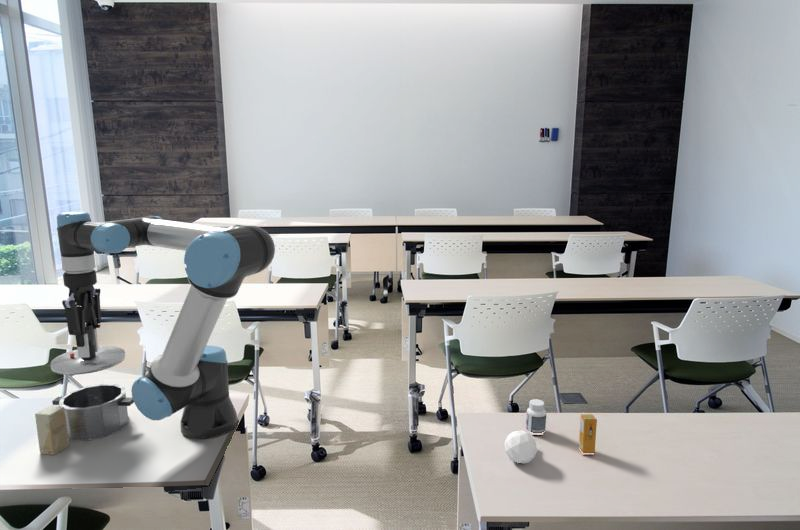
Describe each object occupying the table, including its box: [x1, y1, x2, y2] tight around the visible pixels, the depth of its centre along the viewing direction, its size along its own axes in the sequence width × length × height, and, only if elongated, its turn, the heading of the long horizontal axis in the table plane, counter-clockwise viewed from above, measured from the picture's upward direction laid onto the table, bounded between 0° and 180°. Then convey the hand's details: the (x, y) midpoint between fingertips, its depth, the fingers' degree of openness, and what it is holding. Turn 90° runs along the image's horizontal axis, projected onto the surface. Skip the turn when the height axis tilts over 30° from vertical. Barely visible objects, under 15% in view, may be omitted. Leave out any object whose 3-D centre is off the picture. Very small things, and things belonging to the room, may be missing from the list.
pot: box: [51, 383, 135, 441], centre depth 148 cm, size 22×16×9 cm
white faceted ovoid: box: [503, 429, 538, 464], centre depth 133 cm, size 8×8×12 cm
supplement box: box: [578, 413, 598, 454], centre depth 135 cm, size 3×3×10 cm
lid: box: [50, 323, 126, 376], centre depth 143 cm, size 18×18×10 cm
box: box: [34, 405, 70, 456], centre depth 136 cm, size 5×4×11 cm
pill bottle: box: [525, 398, 547, 433], centre depth 145 cm, size 5×5×9 cm
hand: (88, 353), depth 143 cm, fingers closed on lid, 3 cm apart
